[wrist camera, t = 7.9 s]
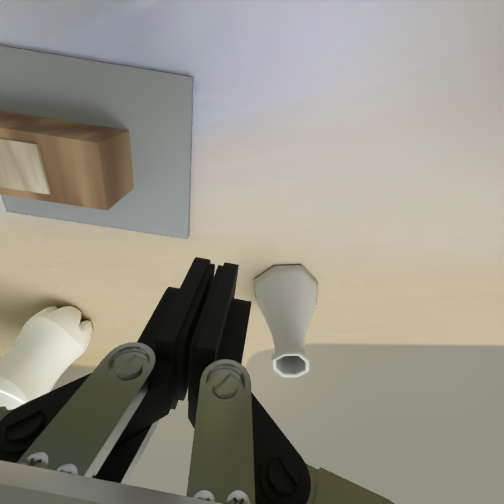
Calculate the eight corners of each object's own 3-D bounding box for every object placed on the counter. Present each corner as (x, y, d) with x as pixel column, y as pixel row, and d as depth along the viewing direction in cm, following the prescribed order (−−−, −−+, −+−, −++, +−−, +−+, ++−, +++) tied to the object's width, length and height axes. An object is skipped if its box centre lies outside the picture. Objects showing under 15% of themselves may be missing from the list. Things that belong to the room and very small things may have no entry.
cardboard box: (96, 143, 19) (-86, 115, 19) (106, 211, 22) (-54, 187, 22) (129, 130, 24) (-18, 107, 23) (134, 188, 26) (2, 168, 26)
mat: (193, 77, 22) (191, 77, 21) (189, 236, 29) (187, 239, 29) (-46, 37, 22) (-53, 37, 21) (11, 209, 29) (6, 211, 28)
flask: (267, 319, 35) (266, 398, 26) (243, 274, 32) (232, 348, 23) (326, 303, 33) (345, 383, 25) (307, 254, 30) (321, 326, 21)
